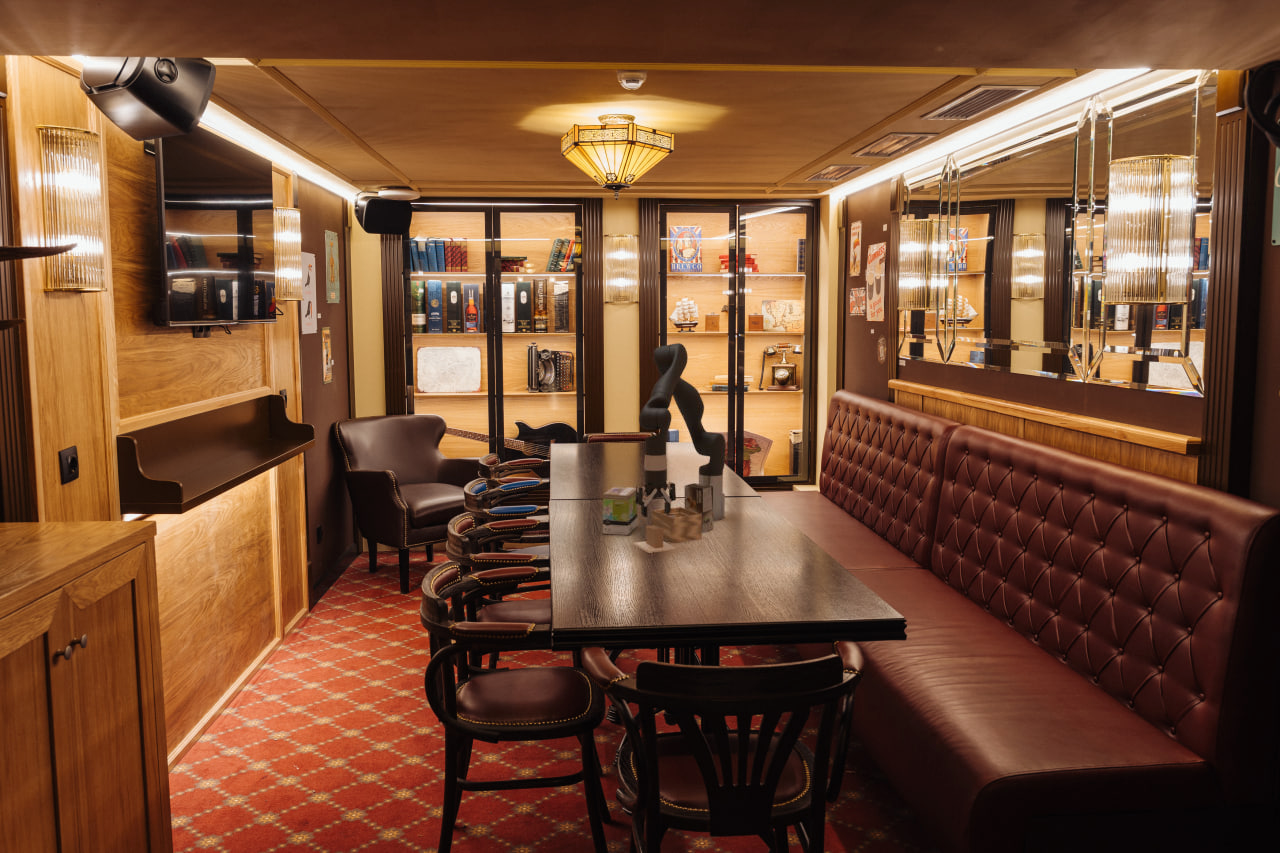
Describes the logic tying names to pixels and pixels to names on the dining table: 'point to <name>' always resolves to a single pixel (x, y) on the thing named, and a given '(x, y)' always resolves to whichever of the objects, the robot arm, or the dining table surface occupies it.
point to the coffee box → (700, 503)
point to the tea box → (619, 510)
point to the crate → (678, 524)
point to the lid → (654, 541)
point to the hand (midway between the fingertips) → (656, 515)
